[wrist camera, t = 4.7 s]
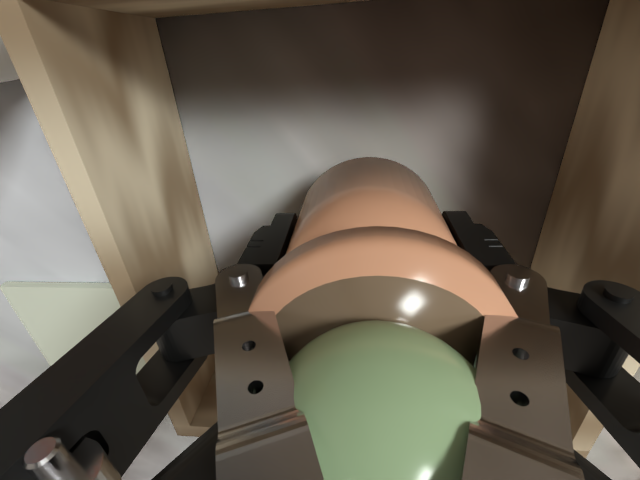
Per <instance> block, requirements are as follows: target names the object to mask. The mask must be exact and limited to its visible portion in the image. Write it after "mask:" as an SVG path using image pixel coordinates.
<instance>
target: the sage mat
mask: <svg viewBox="0 0 640 480" xmlns="http://www.w3.org/2000/svg"><path fill="white" fill-rule="evenodd" d="M0 289H1V291H2V292H3V294H4V295H5V297H6V298H7V300H8V302H9V303H10V305H11V306H12V308H13V309H14V311H15V312H16V314H17V315H18V317H19V319H20V320H21V322H22V323H23V325H24V326H25V328H26V329H27V331H28V332H29V334H30V336H31V337H32V339H33V340H34V342H35V343H36V345H37V346H38V348H39V350H40V351H41V353H42V354H43V356H44V357H45V359H46V360H47V362H48V363H49V365H50V366H52V365H53V364H54V363H55V362H56V361H57V360H59V359H60V358H61V357H62V356H63V355H65V354H66V353H67V352H68V351H69V350H70V349H72V348H73V347H74V346H75V345H76V344H78V343H79V342H80V341H81V340H82V339H83V338H85V337H86V336H87V335H88V334H89V333H91V332H92V331H93V330H94V329H95V328H96V327H98V326H99V325H100V324H101V323H102V322H104V321H105V320H106V319H107V318H108V317H109V316H111V315H112V314H113V313H114V312H115V311H117V310H118V309H119V308H120V307H121V306H120V304H119V302H118V300H117V297H116V295H115V293H114V290H113V288H112V286H111V284H110V283H71V282H5V283H4V284H2V285H1V286H0ZM145 364H146V363H145V360H144V358H143V357H142V358H141V359H140V361H139V363H138V365H137V368H136V374H137V373H138V372H139V371H140V370H141V369H142V367H143V366H144V365H145Z"/></svg>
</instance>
